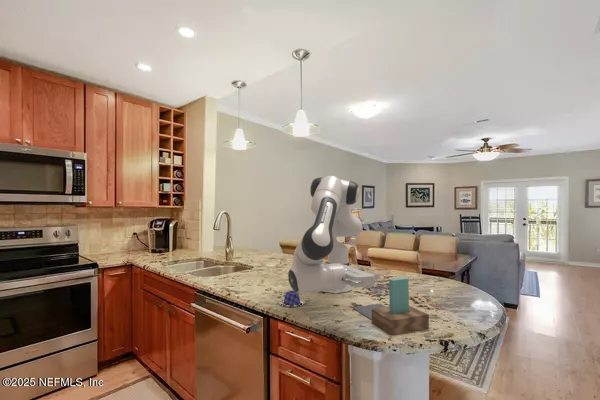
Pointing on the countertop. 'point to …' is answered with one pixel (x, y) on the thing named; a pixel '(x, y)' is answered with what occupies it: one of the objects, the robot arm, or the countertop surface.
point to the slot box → (400, 320)
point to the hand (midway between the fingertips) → (370, 273)
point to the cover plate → (399, 295)
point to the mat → (368, 309)
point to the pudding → (292, 299)
